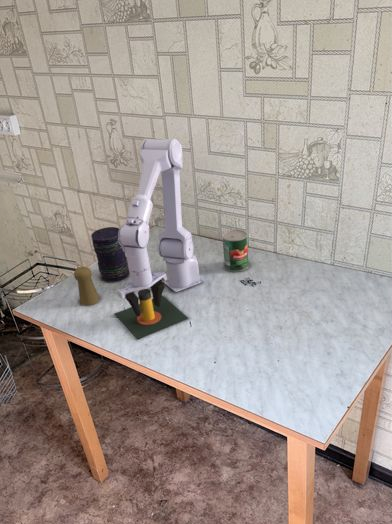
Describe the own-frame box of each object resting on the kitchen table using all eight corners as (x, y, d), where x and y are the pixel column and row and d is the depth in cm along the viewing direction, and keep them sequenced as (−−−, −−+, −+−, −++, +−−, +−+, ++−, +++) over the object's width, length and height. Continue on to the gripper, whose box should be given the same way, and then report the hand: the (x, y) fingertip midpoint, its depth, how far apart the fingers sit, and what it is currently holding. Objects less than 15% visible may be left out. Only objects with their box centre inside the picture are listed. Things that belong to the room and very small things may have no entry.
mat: (162, 296, 156) (162, 294, 156) (188, 318, 144) (188, 317, 144) (114, 314, 150) (114, 312, 150) (137, 339, 139) (137, 337, 138)
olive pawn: (95, 305, 156) (87, 273, 149) (77, 305, 157) (68, 273, 150) (102, 295, 160) (94, 264, 154) (84, 295, 162) (76, 264, 155)
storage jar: (136, 271, 171) (128, 229, 162) (117, 284, 165) (108, 242, 156) (113, 265, 176) (104, 225, 167) (94, 279, 170) (84, 237, 161)
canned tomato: (232, 258, 171) (230, 228, 165) (253, 263, 167) (251, 232, 161) (219, 269, 166) (217, 237, 160) (240, 274, 162) (238, 242, 156)
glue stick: (150, 313, 148) (146, 287, 143) (157, 317, 145) (152, 292, 140) (140, 317, 146) (135, 292, 141) (146, 322, 144) (141, 296, 139)
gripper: (154, 253, 142) (161, 295, 150) (108, 271, 136) (118, 314, 144) (168, 261, 137) (174, 304, 145) (121, 280, 131) (130, 324, 139)
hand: (147, 310), depth 144 cm, fingers open, 6 cm apart
